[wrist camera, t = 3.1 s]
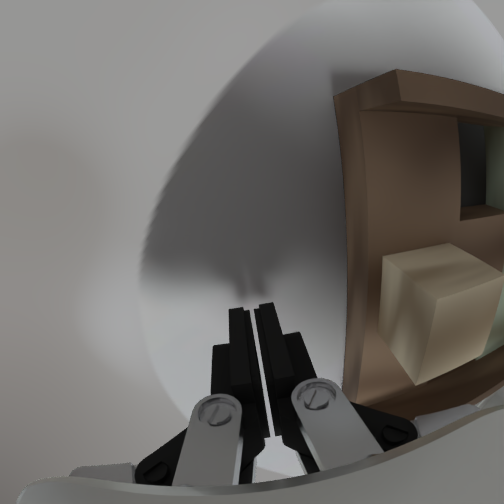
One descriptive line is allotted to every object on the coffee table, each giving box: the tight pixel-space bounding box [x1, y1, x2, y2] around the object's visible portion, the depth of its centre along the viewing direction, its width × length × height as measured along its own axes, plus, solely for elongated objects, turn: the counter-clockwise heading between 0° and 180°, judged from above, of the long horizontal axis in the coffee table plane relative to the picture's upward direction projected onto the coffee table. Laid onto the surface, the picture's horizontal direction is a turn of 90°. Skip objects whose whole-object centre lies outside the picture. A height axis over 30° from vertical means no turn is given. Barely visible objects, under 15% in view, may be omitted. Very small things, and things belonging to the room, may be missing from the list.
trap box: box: [333, 69, 504, 421], centre depth 12 cm, size 18×16×6 cm
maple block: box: [377, 243, 504, 386], centre depth 10 cm, size 4×4×4 cm
